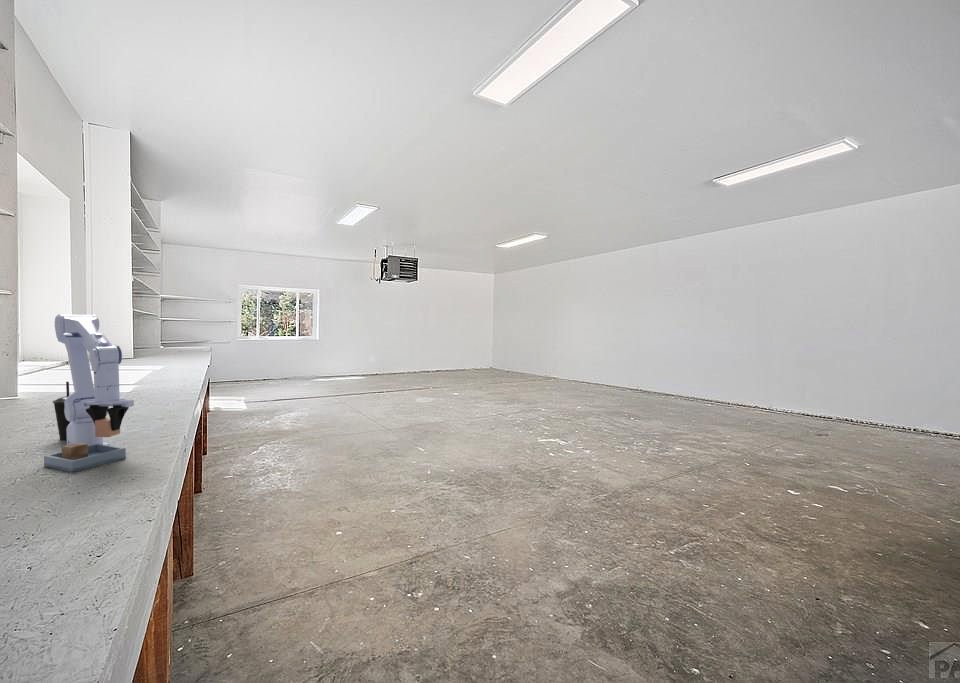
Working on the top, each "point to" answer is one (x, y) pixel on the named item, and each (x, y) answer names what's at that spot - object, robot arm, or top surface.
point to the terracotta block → (104, 428)
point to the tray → (86, 458)
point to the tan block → (75, 451)
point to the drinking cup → (61, 415)
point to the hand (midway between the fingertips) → (108, 429)
